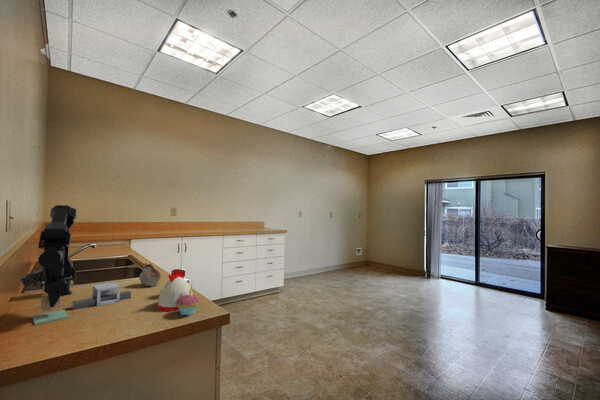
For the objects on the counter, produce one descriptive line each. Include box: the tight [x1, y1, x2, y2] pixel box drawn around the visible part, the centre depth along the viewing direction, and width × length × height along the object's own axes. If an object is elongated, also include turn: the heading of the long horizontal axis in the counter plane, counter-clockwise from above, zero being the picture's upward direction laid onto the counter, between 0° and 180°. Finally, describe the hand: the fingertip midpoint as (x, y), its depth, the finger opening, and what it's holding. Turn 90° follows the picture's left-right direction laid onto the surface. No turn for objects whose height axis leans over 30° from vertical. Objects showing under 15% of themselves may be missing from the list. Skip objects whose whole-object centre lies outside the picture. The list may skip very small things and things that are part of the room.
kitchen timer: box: [156, 268, 194, 312], centre depth 118 cm, size 14×14×15 cm
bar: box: [70, 290, 132, 311], centre depth 118 cm, size 3×20×3 cm, turn 140°
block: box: [40, 293, 61, 312], centre depth 101 cm, size 4×4×5 cm
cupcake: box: [175, 283, 200, 316], centre depth 109 cm, size 9×8×12 cm
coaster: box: [31, 309, 70, 326], centre depth 101 cm, size 9×9×1 cm
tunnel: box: [91, 282, 121, 307], centre depth 119 cm, size 8×8×7 cm
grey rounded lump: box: [138, 262, 162, 287], centre depth 145 cm, size 10×9×12 cm
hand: (51, 305), depth 101 cm, fingers closed on block, 4 cm apart
